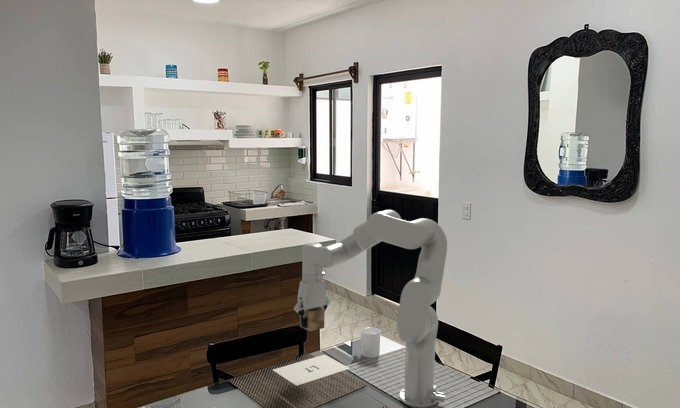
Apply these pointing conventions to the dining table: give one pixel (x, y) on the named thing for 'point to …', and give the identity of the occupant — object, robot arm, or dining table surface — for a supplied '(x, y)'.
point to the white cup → (370, 342)
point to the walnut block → (314, 319)
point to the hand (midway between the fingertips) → (312, 324)
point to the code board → (310, 369)
